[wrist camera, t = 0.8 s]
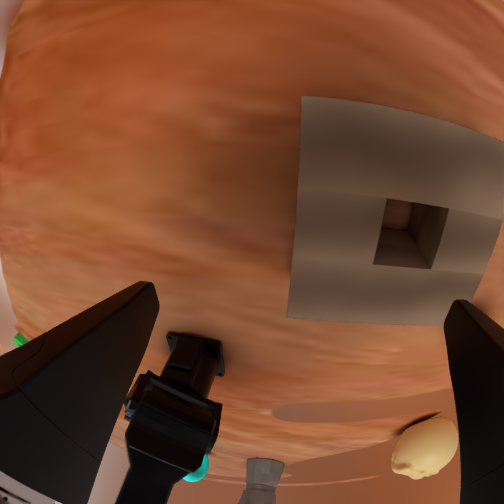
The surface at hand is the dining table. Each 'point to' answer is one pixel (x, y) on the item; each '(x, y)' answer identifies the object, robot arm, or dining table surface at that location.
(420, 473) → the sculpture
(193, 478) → the donuts
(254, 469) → the coffeepot
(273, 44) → the dining table surface
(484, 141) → the block
